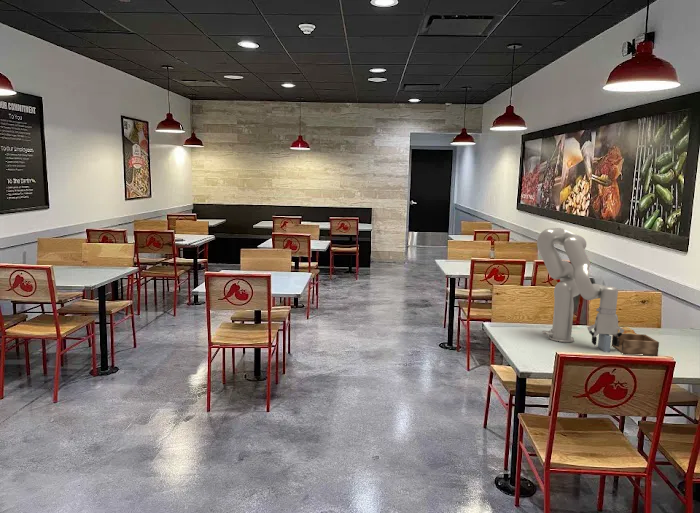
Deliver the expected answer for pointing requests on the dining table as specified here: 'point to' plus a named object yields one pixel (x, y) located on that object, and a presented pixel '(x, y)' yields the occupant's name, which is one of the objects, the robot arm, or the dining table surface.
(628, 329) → the croissant
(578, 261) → the robot arm
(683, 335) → the dining table surface
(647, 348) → the wooden box
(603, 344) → the blue-gray flat block
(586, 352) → the dining table surface
